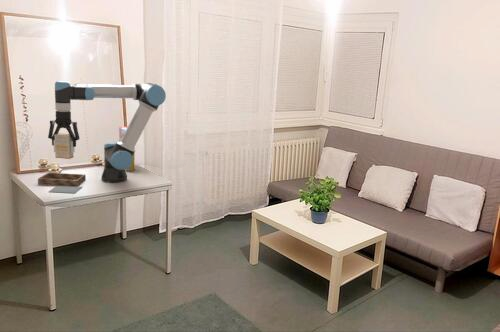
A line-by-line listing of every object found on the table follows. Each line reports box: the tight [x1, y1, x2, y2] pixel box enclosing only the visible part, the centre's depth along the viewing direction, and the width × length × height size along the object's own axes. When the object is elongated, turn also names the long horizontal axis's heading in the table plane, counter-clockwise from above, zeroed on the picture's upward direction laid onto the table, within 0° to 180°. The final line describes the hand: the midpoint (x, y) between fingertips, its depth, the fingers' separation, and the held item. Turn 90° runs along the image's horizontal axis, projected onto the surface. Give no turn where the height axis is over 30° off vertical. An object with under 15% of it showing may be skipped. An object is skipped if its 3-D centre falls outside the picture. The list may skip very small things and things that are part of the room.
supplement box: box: [54, 132, 74, 160], centre depth 232 cm, size 8×5×13 cm, turn 83°
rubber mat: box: [48, 185, 83, 195], centre depth 237 cm, size 14×12×1 cm
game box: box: [118, 126, 136, 172], centre depth 290 cm, size 21×6×27 cm, turn 30°
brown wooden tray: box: [37, 172, 87, 187], centre depth 250 cm, size 22×14×4 cm, turn 93°
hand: (64, 152), depth 232 cm, fingers closed on supplement box, 9 cm apart
